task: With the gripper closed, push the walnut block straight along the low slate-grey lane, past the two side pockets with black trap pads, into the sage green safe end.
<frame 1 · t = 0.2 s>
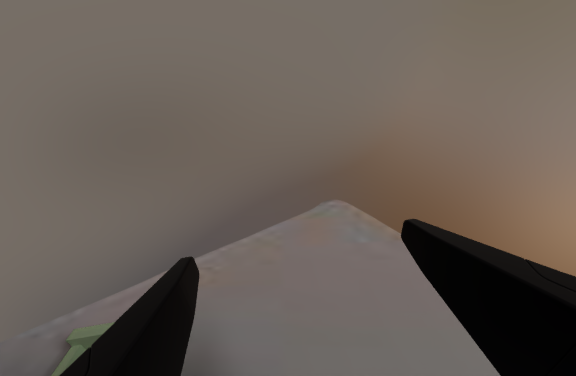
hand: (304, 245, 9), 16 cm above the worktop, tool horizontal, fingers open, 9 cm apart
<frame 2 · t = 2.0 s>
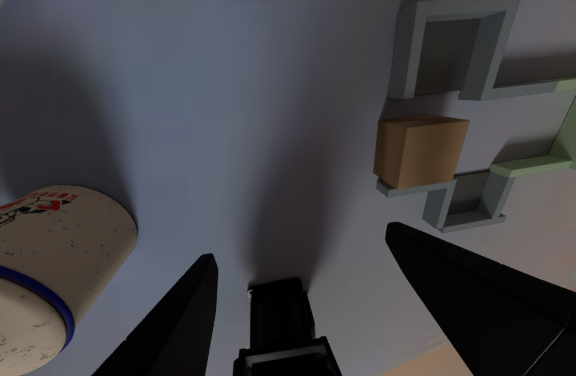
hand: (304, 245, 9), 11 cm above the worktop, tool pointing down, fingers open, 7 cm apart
teacup with lid: (72, 232, 19), on the worktop
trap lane: (448, 138, 20), on the worktop
walnut block: (399, 144, 20), on the worktop
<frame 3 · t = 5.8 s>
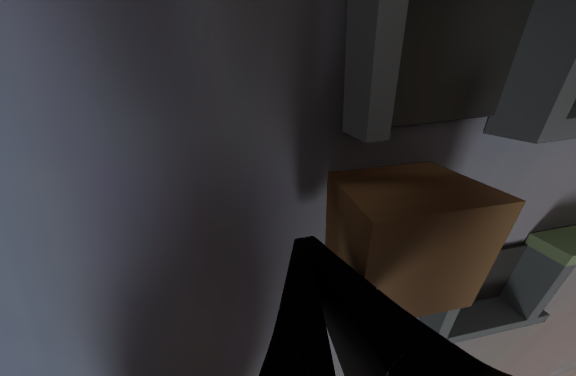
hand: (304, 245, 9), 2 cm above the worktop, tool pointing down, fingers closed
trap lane: (461, 199, 11), on the worktop
walnut block: (372, 211, 11), on the worktop, touching gripper
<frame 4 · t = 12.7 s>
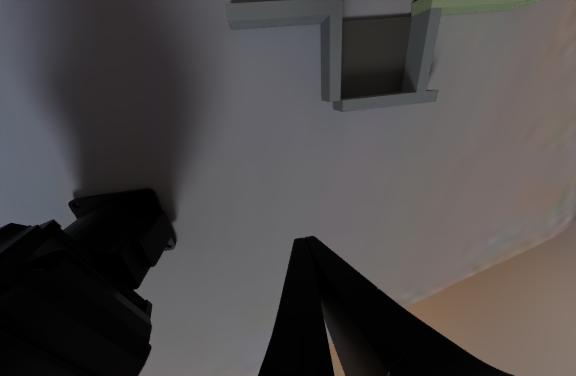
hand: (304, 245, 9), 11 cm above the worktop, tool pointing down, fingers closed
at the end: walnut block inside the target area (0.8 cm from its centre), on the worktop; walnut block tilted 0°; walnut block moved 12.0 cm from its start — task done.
